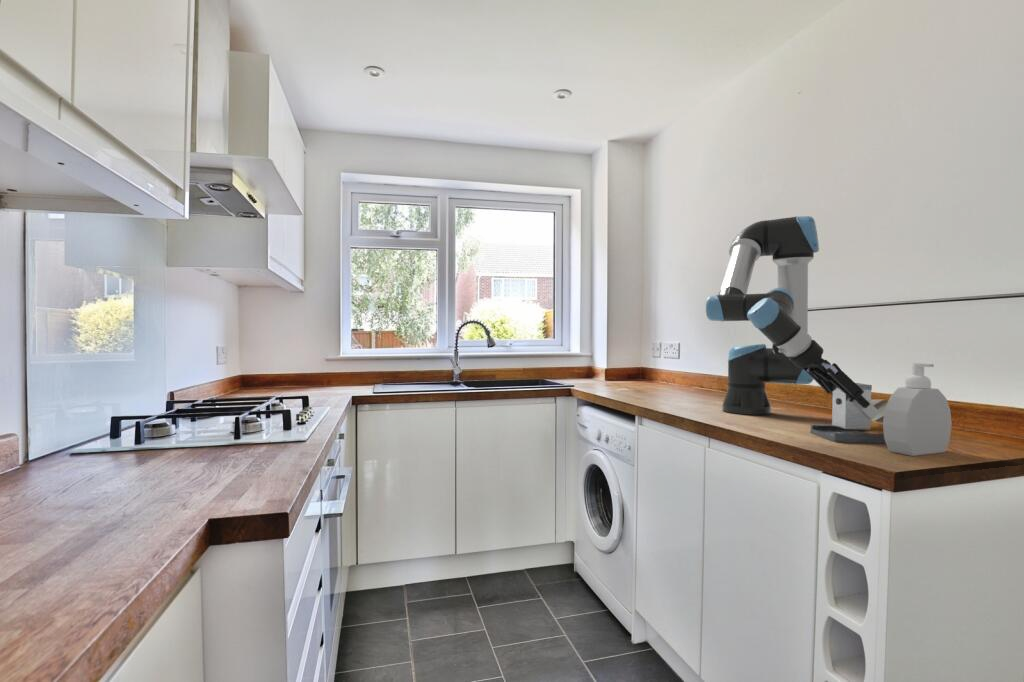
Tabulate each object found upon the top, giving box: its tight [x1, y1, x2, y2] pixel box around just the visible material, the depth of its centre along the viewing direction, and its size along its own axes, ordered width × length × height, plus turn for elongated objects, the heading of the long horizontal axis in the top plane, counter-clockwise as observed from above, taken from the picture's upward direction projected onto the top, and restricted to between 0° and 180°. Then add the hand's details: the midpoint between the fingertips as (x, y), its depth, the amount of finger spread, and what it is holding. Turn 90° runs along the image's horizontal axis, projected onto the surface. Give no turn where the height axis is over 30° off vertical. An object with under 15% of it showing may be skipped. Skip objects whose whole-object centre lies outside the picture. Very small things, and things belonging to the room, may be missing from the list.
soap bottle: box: [883, 362, 953, 457], centre depth 111 cm, size 16×5×20 cm, turn 111°
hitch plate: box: [810, 420, 887, 445], centre depth 127 cm, size 12×14×4 cm
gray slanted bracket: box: [830, 398, 888, 424], centre depth 144 cm, size 16×9×15 cm
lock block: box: [831, 382, 873, 430], centre depth 127 cm, size 6×6×11 cm
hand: (866, 413), depth 127 cm, fingers closed on lock block, 6 cm apart
